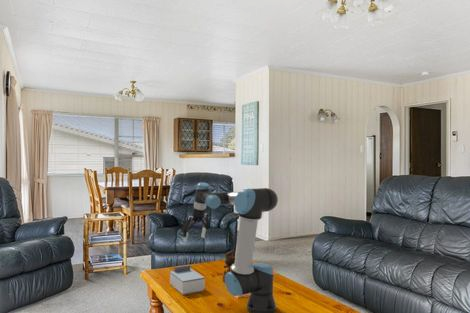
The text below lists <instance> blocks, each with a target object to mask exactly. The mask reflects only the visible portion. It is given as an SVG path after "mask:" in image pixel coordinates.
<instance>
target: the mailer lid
mask: <svg viewBox="0 0 470 313" xmlns="http://www.w3.org/2000/svg"><path fill="white" fill-rule="evenodd" d="M170 273H171V274H173V275H174V276H175V277H177V278H178V279H179V280H180V281H182V282H187V281H193V280H198V279H206V278H205V276H203V275H202V274H201V273H199V272H197V271H195V269H193V268H191V265H190V264H185V265H178V266H173V271H171V270H170V271H169V274H170Z"/></svg>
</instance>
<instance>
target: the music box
mask: <svg viewBox="0 0 470 313" xmlns="http://www.w3.org/2000/svg"><path fill="white" fill-rule="evenodd" d="M234 254H235V251H234V250H233V249H231V250H230V251H227V252H226V253H225V254H222V255H221V256H222V257H225V259H224V264H225V265H224V266H223V268H224V271H223V275H222V282H223V283H225V275H226V274H227V273H228V272H230V271H231V265H232V264H234V263H235V256H234ZM227 268H228V269H227Z"/></svg>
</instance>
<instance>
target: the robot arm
mask: <svg viewBox="0 0 470 313" xmlns="http://www.w3.org/2000/svg"><path fill="white" fill-rule="evenodd" d="M195 189H196V190H195V197H194V203H193V207H192V215H191V216H190V215H188V216H187V218H186V221H185V222H184V224H183V226H182V228H181V229H180V230H181V232H183V233H182V234H183V235H182V236H183V239H182V241H183V242H185V243H187V242H188V238H189V231H190V230H191V228H192V227H193V226H194V225H195V224H197V223H201V225H202V226H203V227H202V229H201V235H200V237H201V238H202V239H205V236H206V233H207V230H209V228H210V227H211V224H210V220H209V214H208V213H207V212H206V209H207V207H208V208H211V209H212V210H215V209H217V208H219V206H231V205H232V206H234V209H235V212H236V213H237V216H238V217H239V219H240V220H239V228H238V235H237V242H236V249H235V256H234V257H235V263H234V264H232V265H231V266H230V268H231V269H230V272H228V273H227V274H226V275H225V282H224V284H225V287H226V289H227V291H228V293H229V294H230V295H231V296H234V297H238V296H239V297H241V296H243V295H247V294H249V297H248V301H247V304H246V309H247V311H248V312H250V313H276V310H277V304H276V301H275V297H274V268H273V267H272V266H271V265H269V264H267V263H261V262H253V258H254V252H255V251H254V250H255V244H256V237H257V236H256V234H257V228H258V223H259V222H258V221H259V220H261V219H262V217H263V213H266V212H270V211H273V209H275V208H276V206H277V205H278V201H279V199H278V194H277V193H276V192H275V191H274V190H273V189H271V188H267V187H266V188H265V187H263V188H262V187H261V188H245V189H241V190H239V191H222V192H220V191H219V192H212V191H211V190H210V189H211V186H210V184H209V183H207V182H204V181H203V182H198V183H197V185H196V188H195Z"/></svg>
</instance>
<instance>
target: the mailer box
mask: <svg viewBox="0 0 470 313" xmlns="http://www.w3.org/2000/svg"><path fill="white" fill-rule="evenodd" d="M205 281H206V278H204V279H198V280H193V281H187V282H182V281H180V280H179V279H178V278H177V277H175V276H174V275H173V274H171V273H170V272H169V285H170V286H171V285H172V286H173V287H172V286H171V287H172V288H174V289H175V290H176V291H177V292H178V293H180V294H181V295H182V296H185V295H188V294H189V295H190V294H194V293H200V292H205V288H206V285H205V284H206V282H205Z"/></svg>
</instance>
